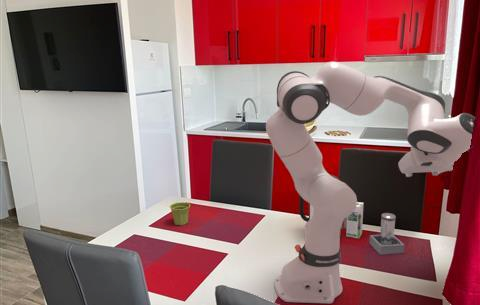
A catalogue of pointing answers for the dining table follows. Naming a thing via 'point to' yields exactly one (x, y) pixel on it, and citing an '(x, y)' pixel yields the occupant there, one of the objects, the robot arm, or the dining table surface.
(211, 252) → the dining table surface
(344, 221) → the small box
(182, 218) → the plant pot
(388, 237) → the tube
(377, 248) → the socket
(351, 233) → the syrup box
